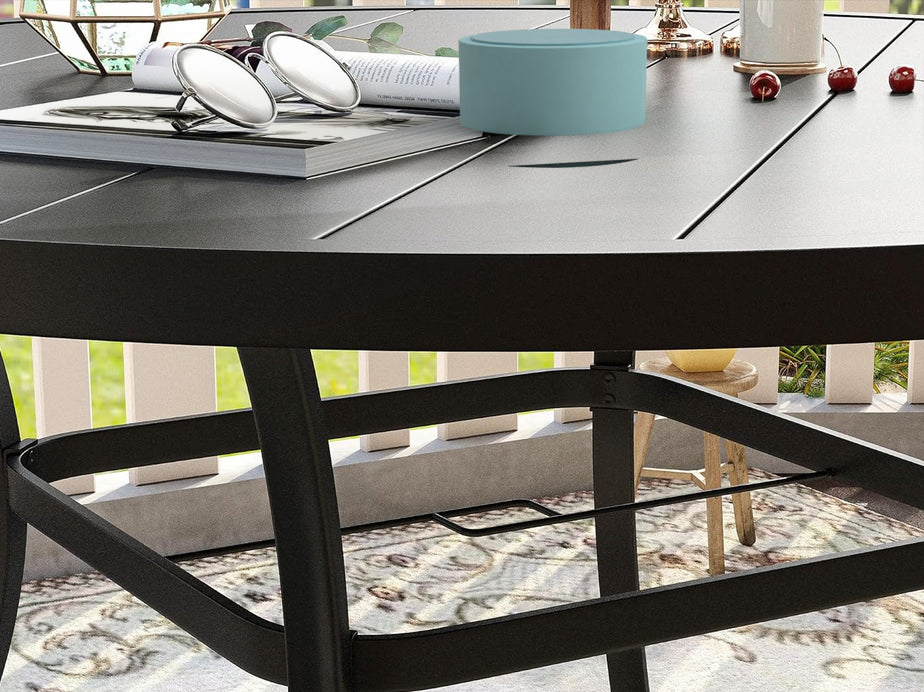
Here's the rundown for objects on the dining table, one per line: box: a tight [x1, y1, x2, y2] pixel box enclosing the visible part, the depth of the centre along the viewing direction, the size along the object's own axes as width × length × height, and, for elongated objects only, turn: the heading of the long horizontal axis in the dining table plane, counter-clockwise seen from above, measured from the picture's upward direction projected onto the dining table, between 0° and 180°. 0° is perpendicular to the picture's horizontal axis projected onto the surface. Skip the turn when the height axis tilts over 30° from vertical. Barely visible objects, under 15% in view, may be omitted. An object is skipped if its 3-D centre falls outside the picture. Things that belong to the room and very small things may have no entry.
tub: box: [458, 28, 648, 169], centre depth 90 cm, size 13×13×7 cm
